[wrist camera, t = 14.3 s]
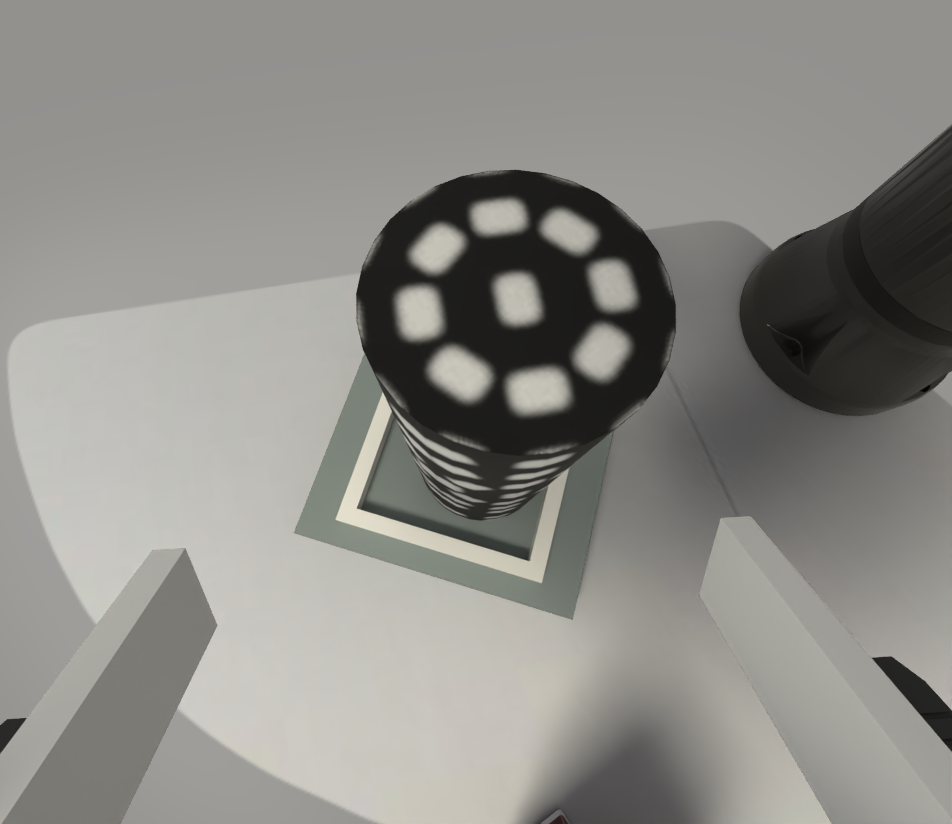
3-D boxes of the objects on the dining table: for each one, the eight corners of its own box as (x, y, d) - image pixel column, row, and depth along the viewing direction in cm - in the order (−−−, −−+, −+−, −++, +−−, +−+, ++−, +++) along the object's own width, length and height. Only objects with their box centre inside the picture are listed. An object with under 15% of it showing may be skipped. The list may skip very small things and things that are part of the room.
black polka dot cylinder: (411, 407, 32) (341, 188, 13) (530, 388, 33) (627, 154, 14) (429, 531, 30) (375, 483, 11) (557, 508, 31) (719, 425, 12)
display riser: (611, 395, 36) (629, 375, 32) (562, 613, 32) (577, 622, 28) (386, 332, 37) (377, 305, 33) (308, 534, 33) (287, 532, 29)
